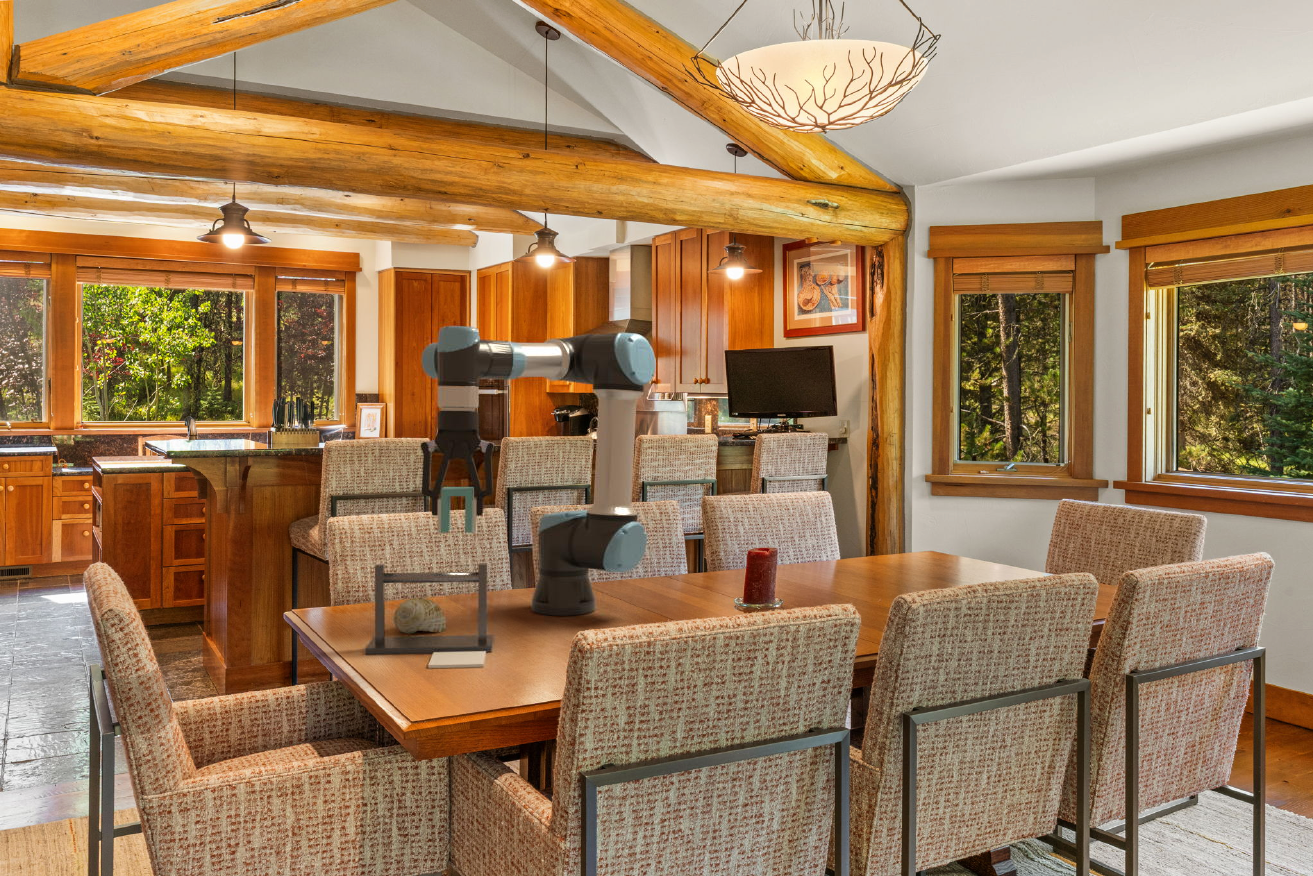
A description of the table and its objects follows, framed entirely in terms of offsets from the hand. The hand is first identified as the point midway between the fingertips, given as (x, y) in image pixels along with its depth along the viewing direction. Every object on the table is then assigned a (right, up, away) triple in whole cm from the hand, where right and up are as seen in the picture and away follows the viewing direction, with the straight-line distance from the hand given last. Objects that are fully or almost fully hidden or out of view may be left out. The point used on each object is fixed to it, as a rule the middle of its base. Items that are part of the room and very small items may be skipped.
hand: (457, 532), depth 183 cm
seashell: (-13, -24, +24) cm, 36 cm away
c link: (0, 0, 0) cm, 0 cm away
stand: (-7, -24, +11) cm, 27 cm away
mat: (0, -24, +1) cm, 24 cm away
